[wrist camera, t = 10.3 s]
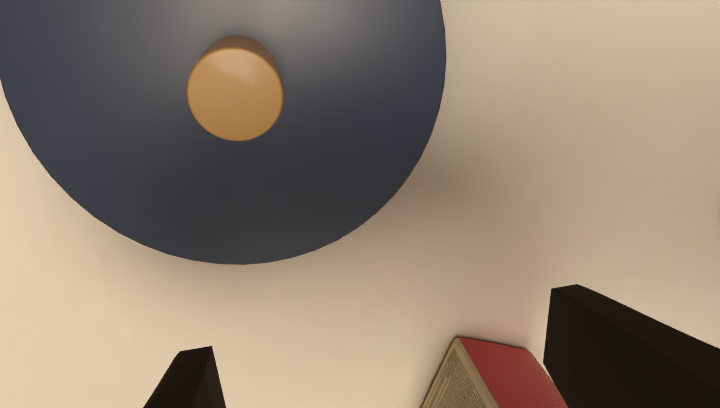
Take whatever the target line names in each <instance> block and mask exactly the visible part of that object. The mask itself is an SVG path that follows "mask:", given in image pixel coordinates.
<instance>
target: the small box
mask: <svg viewBox="0 0 720 408" xmlns="http://www.w3.org/2000/svg"><path fill="white" fill-rule="evenodd" d="M422 408H568V406H567V405H566V403H565V401H564V400H563V398H562V396H561V394H560V393H559V391H558V389H557V388H556V386H555V384H554V383H553V381H552V380H551V379H550V377H549V376H548V375H547V373H546V372H545V371H544V369H543V368H542V367H541V365H540V364H539V363H538V361H537V360H536V359H535V357H534V356H533V355H532V354H531V352H530V351H528V350H525V349H520V348H515V347H510V346H505V345H500V344H495V343H490V342H484V341H479V340H472V339H466V338H461V337H458V338H456V339H455V340H454V341H453V343H452V345H451V348H450V350H449V352H448V353H447V355H446V357H445V359H444V362H443V364H442V366H441V368H440V370H439V372H438V374H437V376H436V378H435V381H434V383H433V385H432V387H431V389H430V391H429V393H428V395H427V398H426V400H425V402H424V404H423V407H422Z"/></svg>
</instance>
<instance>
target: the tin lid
mask: <svg viewBox="0 0 720 408" xmlns="http://www.w3.org/2000/svg"><path fill="white" fill-rule="evenodd" d="M445 68H446V41H445V27H444V21H443V15H442V9H441V4H440V0H0V80H1V83H2V87H3V91H4V94H5V97H6V100H7V102H8V104H9V107H10V109H11V111H12V114H13V116H14V119H15V121H16V123H17V126H18V127H19V129H20V131H21V133H22V134H23V136H24V138H25V140H26V141H27V143H28V145H29V146H30V148H31V150H32V152H33V153H34V154H35V156H36V157H37V158H38V160H39V161H40V162H41V164H42V165H43V166H44V168H45V169H46V170H47V172H48V173H49V174H50V176H51V177H52V178H53V179H54V180H55V181H56V182H57V183H58V184H59V185H60V186H61V187H62V188H63V190H64V191H65V192H66V193H67V194H68V195H69V196H70V197H71V198H72V199H73V200H75V201H76V202H77V203H78V204H79V205H81V206H82V207H83V208H84V209H85V210H87V211H88V212H89V213H90V214H91V215H93V216H94V217H95V218H97V219H98V220H100V221H101V222H103V223H105V224H106V225H108V226H109V227H111V228H112V229H114V230H115V231H117V232H118V233H120V234H122V235H124V236H126V237H128V238H130V239H132V240H134V241H136V242H138V243H140V244H142V245H145V246H147V247H150V248H153V249H155V250H158V251H161V252H163V253H166V254H169V255H173V256H177V257H181V258H185V259H189V260H193V261H201V262H208V263H215V264H239V265H245V264H257V263H268V262H273V261H278V260H283V259H288V258H293V257H296V256H299V255H302V254H305V253H308V252H311V251H314V250H317V249H319V248H321V247H323V246H326V245H328V244H330V243H332V242H334V241H337V240H338V239H340V238H342V237H343V236H345V235H347V234H348V233H350V232H352V231H353V230H355V229H356V228H358V227H359V226H360V225H362V224H363V223H364V222H366V221H367V220H368V219H369V218H371V217H372V216H373V215H375V214H376V213H377V212H378V211H379V210H380V209H381V208H382V207H383V206H384V205H385V204H386V203H387V202H388V201H389V200H390V199H391V198H392V197H393V196H394V195H395V193H396V192H397V191H398V190H399V188H400V187H401V186H402V185H403V183H404V182H405V181H406V180H407V178H408V177H409V175H410V174H411V172H412V171H413V169H414V167H415V166H416V164H417V162H418V161H419V159H420V158H421V156H422V153H423V151H424V149H425V147H426V145H427V143H428V141H429V138H430V136H431V134H432V131H433V128H434V125H435V122H436V119H437V115H438V112H439V109H440V104H441V99H442V94H443V88H444V81H445Z"/></svg>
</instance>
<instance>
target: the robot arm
mask: <svg viewBox="0 0 720 408" xmlns="http://www.w3.org/2000/svg"><path fill="white" fill-rule="evenodd" d="M543 364H544V365H545V367H546V369H547V371H548V373H549V375H550V377H551V378H552V380H553V382H554V384H555V386H556V388H557V389H558V391H559V393H560V394H561V396H562V398H563V400H564V401H565V403H566V405H567V406H568V408H720V349H719V348H717V347H714V346H712V345H710V344H707V343H705V342H703V341H701V340H698V339H696V338H694V337H692V336H689V335H687V334H685V333H683V332H681V331H678V330H676V329H674V328H672V327H670V326H668V325H665V324H663V323H661V322H659V321H657V320H655V319H653V318H651V317H648V316H646V315H644V314H642V313H640V312H638V311H636V310H634V309H632V308H630V307H627V306H625V305H623V304H621V303H619V302H617V301H615V300H613V299H610V298H608V297H606V296H604V295H602V294H600V293H597V292H595V291H593V290H590V289H588V288H586V287H583V286H581V285H578V284H576V285H570V286H564V287H558V288H552V289H551V296H550V305H549V314H548V323H547V332H546V341H545V350H544V359H543ZM143 408H226V406H225V401H224V397H223V392H222V388H221V384H220V379H219V375H218V371H217V366H216V362H215V358H214V353H213V349H212V346H209V347H203V348H197V349H191V350H185V351H180V352H179V353H178V354H177V355H176V357H175V358H174V360H173V361H172V363H171V365H170V366H169V368H168V369H167V371H166V373H165V374H164V376H163V378H162V379H161V381H160V382H159V384H158V386H157V387H156V389H155V390H154V392H153V393H152V395H151V397H150V398H149V400H148V401H147V403H146V404H145V406H144V407H143Z"/></svg>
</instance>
